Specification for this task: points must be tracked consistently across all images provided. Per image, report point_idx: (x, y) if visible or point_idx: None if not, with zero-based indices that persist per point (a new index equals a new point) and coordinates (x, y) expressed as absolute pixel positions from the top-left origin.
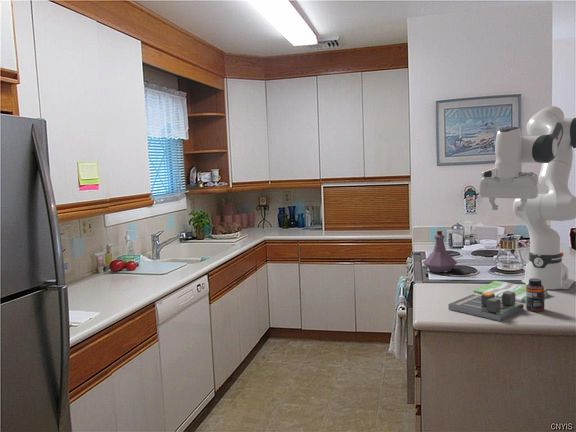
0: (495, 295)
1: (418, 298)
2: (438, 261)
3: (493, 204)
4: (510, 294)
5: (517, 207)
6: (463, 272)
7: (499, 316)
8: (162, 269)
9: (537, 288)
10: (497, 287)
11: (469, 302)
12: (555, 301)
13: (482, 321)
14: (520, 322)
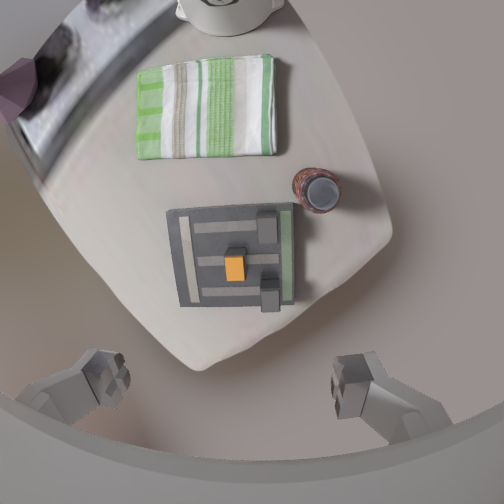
0: (193, 156)
1: (105, 280)
2: (13, 107)
3: (90, 404)
4: (277, 239)
5: (337, 412)
6: (57, 60)
7: (292, 303)
8: None
9: (333, 208)
10: (164, 100)
11: (200, 271)
12: (312, 97)
13: (269, 318)
14: (323, 280)
